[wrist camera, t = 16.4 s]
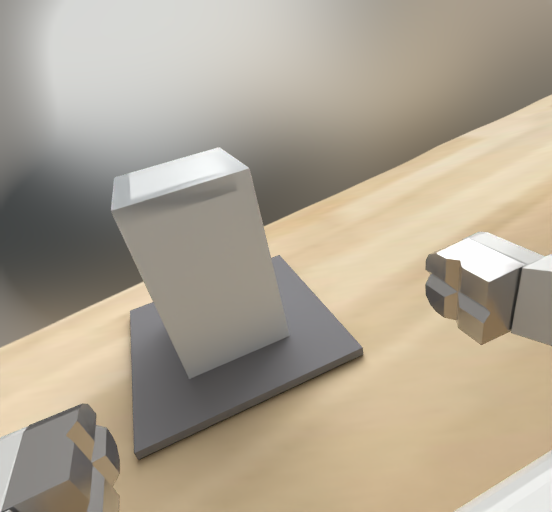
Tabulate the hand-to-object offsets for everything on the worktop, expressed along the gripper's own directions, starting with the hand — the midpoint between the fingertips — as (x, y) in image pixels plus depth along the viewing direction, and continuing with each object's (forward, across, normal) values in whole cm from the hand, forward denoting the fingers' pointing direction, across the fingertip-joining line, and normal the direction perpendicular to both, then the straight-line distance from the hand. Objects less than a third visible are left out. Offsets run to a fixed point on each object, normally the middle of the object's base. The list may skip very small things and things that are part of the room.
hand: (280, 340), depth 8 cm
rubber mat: (+12, +1, +9) cm, 15 cm away
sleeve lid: (+12, +1, +9) cm, 15 cm away
